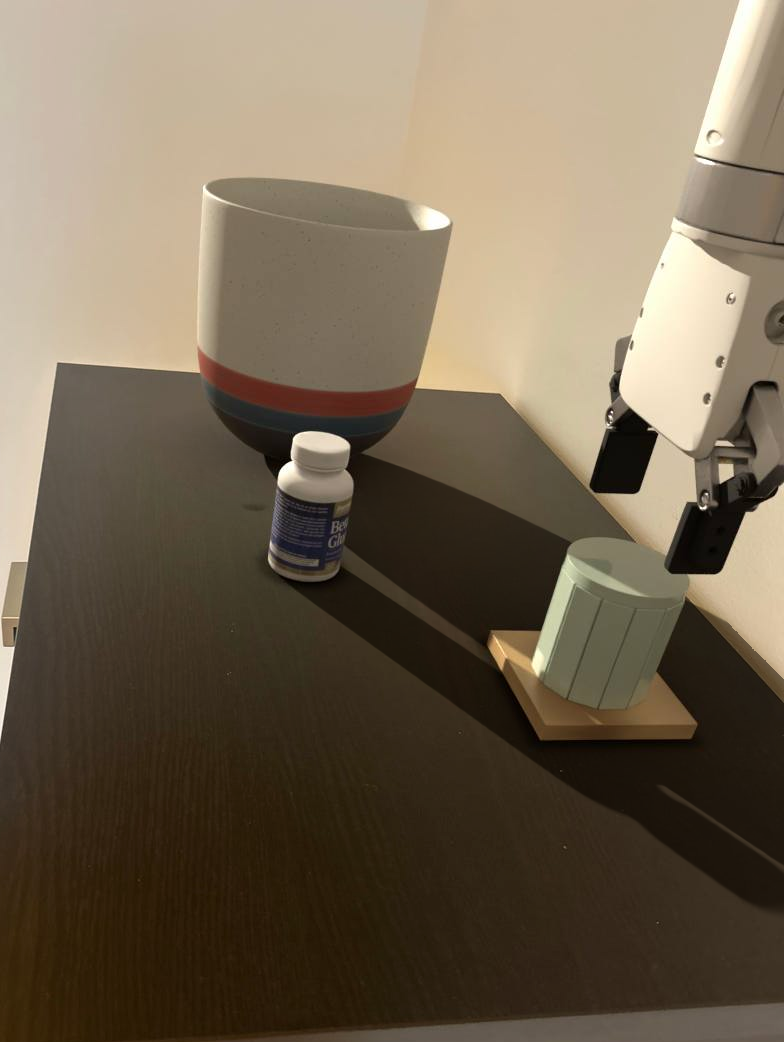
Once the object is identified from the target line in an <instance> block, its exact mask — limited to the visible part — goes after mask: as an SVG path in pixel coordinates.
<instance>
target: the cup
mask: <svg viewBox="0 0 784 1042" xmlns="http://www.w3.org/2000/svg"><path fill="white" fill-rule="evenodd" d="M666 556H667V554H664V553H662V552H660V551H658V550H656V549H653V548H651V547H649V546H646V545H643V544H641V543H637V542H634V541H630V540H626V539H621V538H616V537H605V536H593V537H584V538H581V539H578V540H575V541H574V542H572V543H571V544H570V545H569V546H568V547H567V550H566V553H565V555H564V560H563V562H562V565H561V567H560V571H559V574H558V577H557V580H556V584H555V588H554V590H553V594H552V596H551V598H550V599H551V600H550V602H549V606H548V609H547V612H546V615H545V619H544V621H543V624H542V627H541V630H540V631H541V634H540V637H539V640H538V643H537V646H536V649H535V652H534V656H533V659H532V662H531V666H532V668H533V670H534V671H535V673H536V674H537V676H538V678H539V679H540V681H541V682H542V683H543V684H544V685H545V686H547V687H548V688H550V689H551V690H553V691H554V692H556V693H557V694H559V695H560V696H562V697H563V698H565V699H566V698H568V700H569V701H572V702H576V703H579V704H582V705H585V706H588V707H592V708H595V709H597V708H598V709H600V710H602V709H626V708H627V709H628V708H630V707H632V706H634V705H636V704H637V703H639V702H641V701H643V700H644V699H645V697H646V694H647V692H648V690H649V687H650V685H651V682H652V680H653V677H654V675H655V673H656V672H657V670H658V668H659V665H660V663H661V660H662V658H663V655H664V653H665V650H666V648H667V646H668V643H669V641H670V639H671V636H672V633H673V632H674V630H675V627H676V624H677V622H678V620H679V616H680V614H681V612H682V609H683V607H684V605H685V602H686V601H685V600H686V596H687V593H688V592H689V588H690V585H691V581H690V577H689V574H671V573H669V572H668V571H667V570H666V569H665V567H664V563H665V559H666Z"/></svg>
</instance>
